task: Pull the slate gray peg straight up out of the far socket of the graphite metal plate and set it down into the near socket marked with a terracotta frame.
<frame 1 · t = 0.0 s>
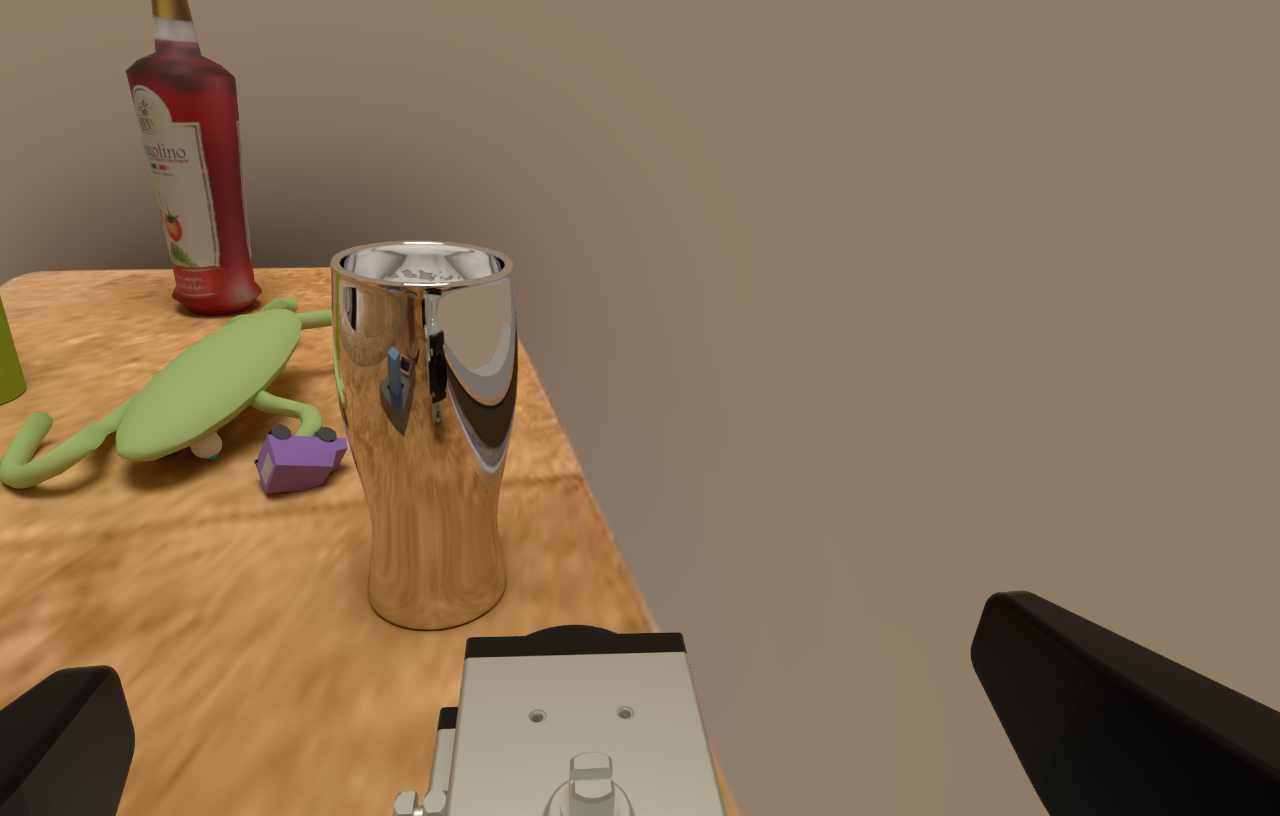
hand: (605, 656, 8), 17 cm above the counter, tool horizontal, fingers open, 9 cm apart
beer glass: (438, 588, 34), on the counter
figurine: (281, 413, 50), on the counter
liquor: (220, 309, 66), on the counter
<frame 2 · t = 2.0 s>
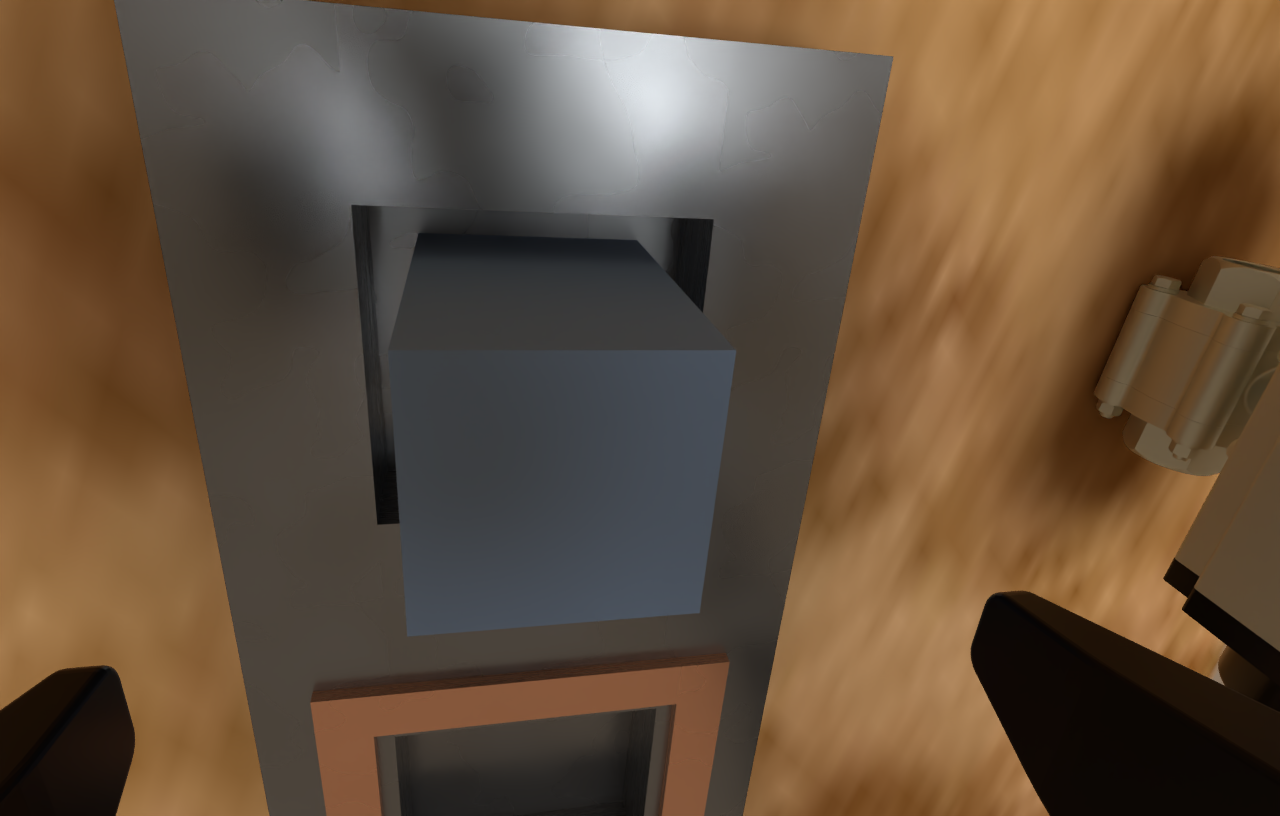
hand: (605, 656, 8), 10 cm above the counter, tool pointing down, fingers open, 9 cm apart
pneumatic valve: (1140, 340, 21), on the counter
slate gray peg: (529, 338, 16), point 1 cm above the counter, touching socket plate
socket plate: (523, 547, 19), on the counter
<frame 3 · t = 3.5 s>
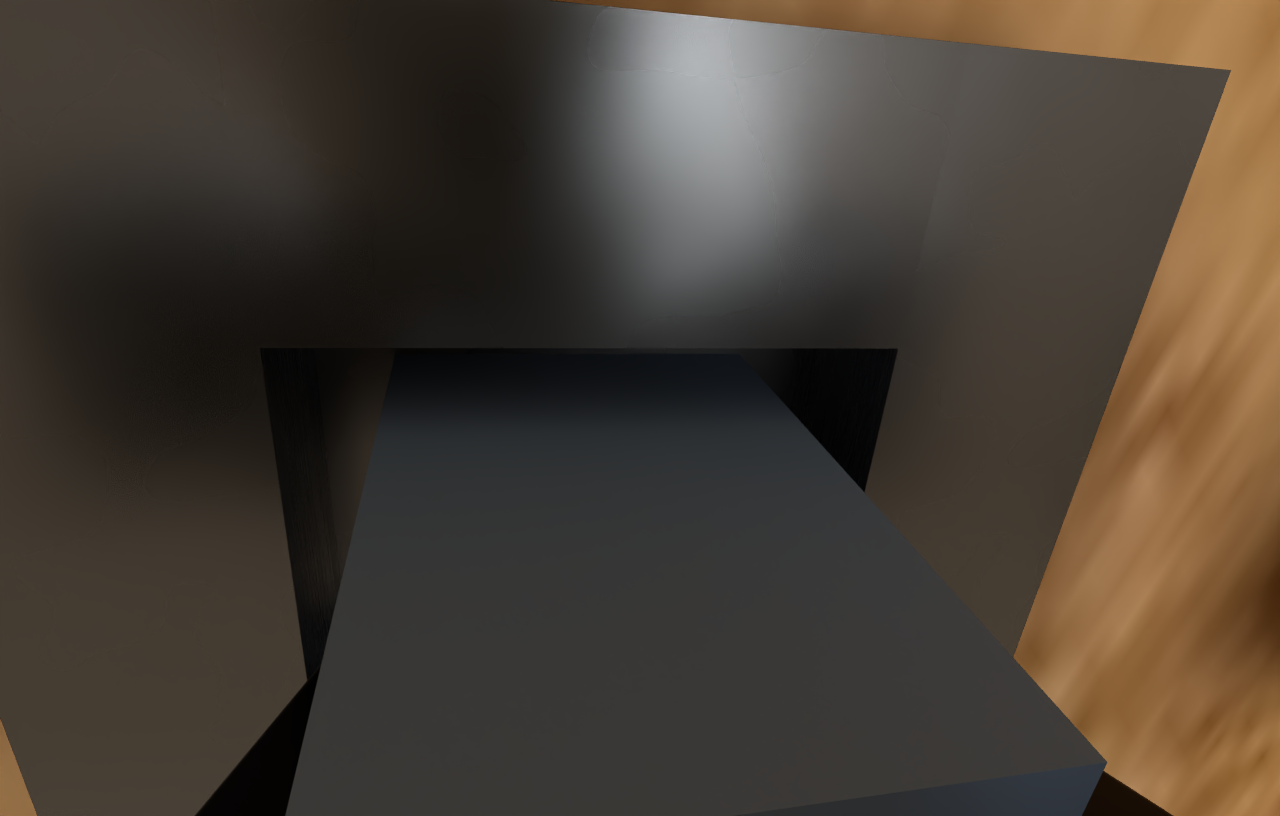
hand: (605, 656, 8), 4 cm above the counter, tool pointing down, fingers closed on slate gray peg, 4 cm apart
slate gray peg: (569, 501, 10), point 1 cm above the counter, touching gripper, socket plate
socket plate: (551, 758, 14), on the counter
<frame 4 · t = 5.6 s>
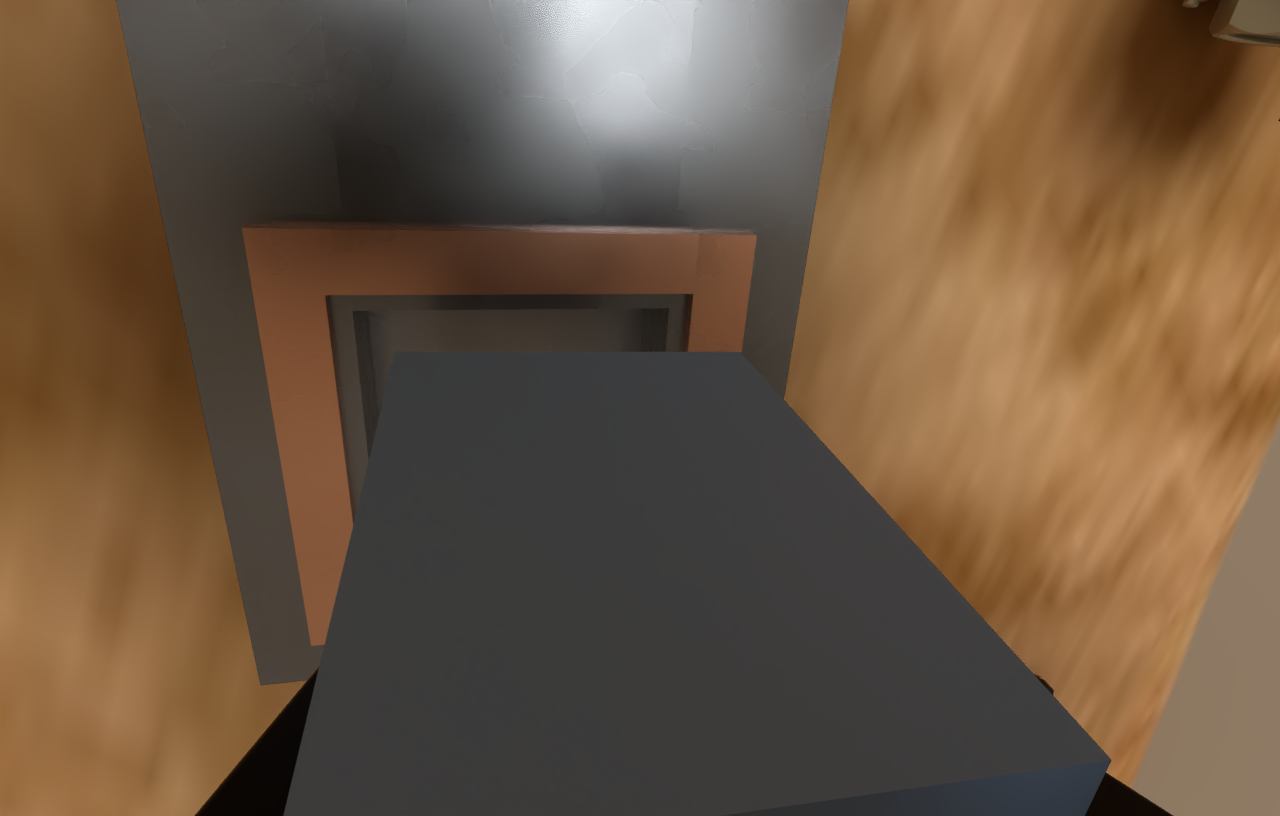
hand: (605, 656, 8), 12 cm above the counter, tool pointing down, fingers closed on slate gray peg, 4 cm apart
slate gray peg: (569, 499, 10), point 9 cm above the counter, touching gripper
socket plate: (507, 137, 16), on the counter
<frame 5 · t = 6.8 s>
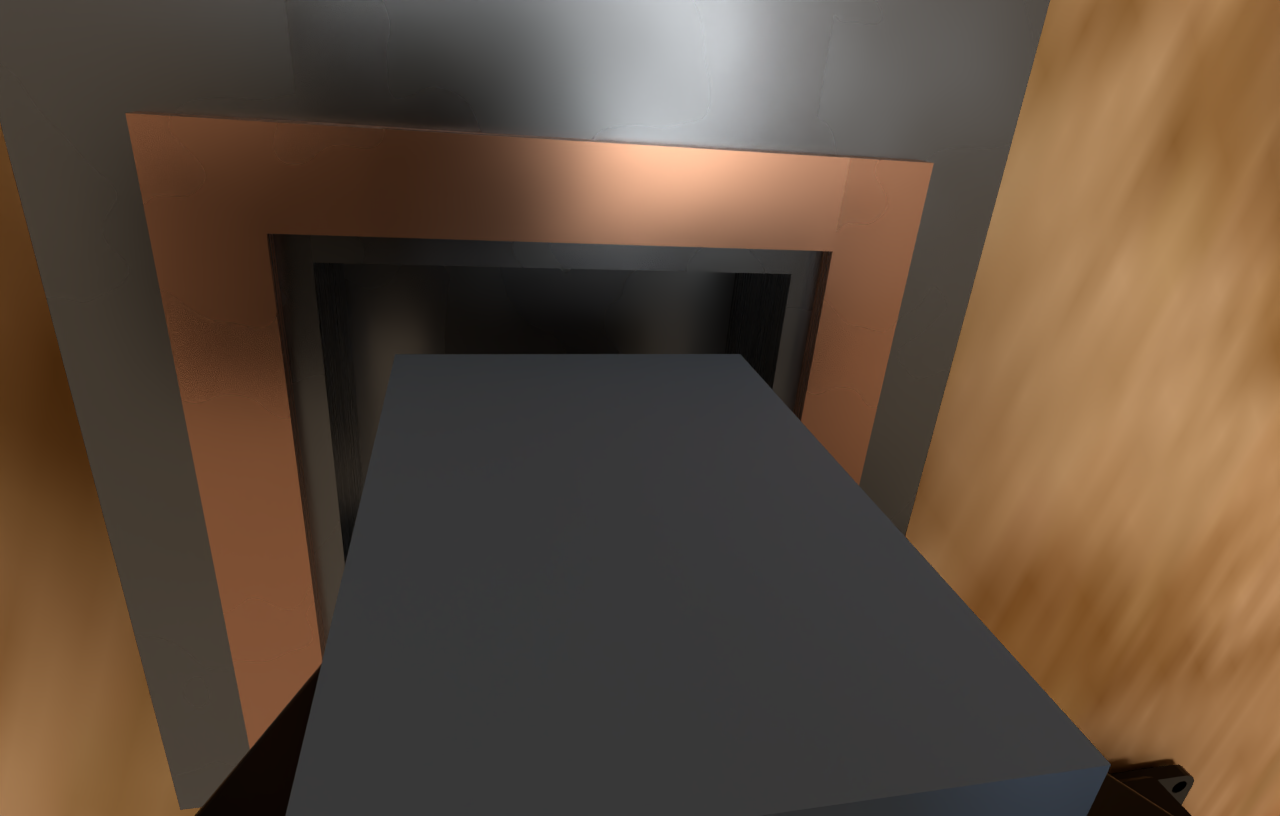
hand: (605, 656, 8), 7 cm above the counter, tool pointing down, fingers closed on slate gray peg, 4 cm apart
slate gray peg: (569, 501, 10), point 4 cm above the counter, touching gripper
socket plate: (551, 25, 11), on the counter
when the fingers open (5 cm above the counter, at t = 7.7 s): slate gray peg drops 1 cm, resting on socket plate.
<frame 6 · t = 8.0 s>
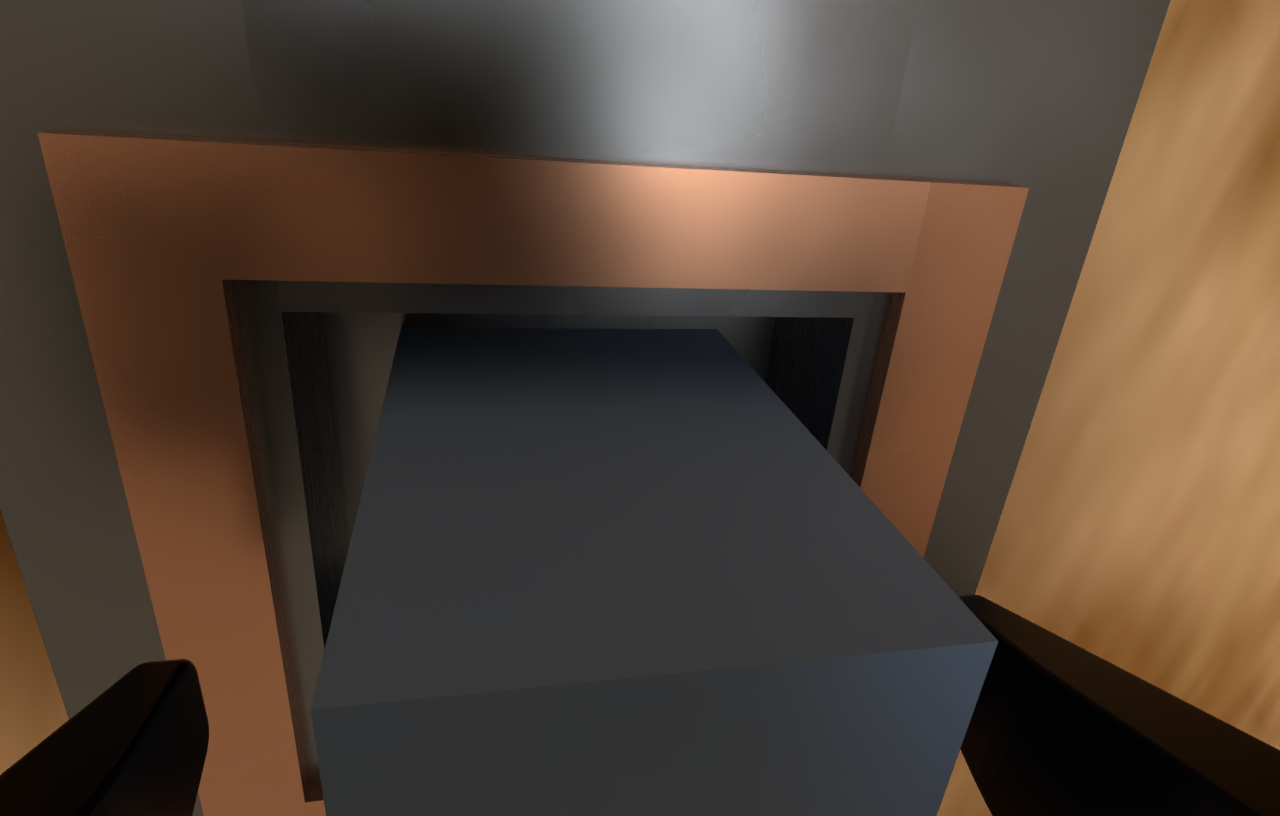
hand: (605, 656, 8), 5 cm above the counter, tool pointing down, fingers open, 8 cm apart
slate gray peg: (561, 466, 11), point 1 cm above the counter, touching socket plate
socket plate: (568, 22, 9), on the counter
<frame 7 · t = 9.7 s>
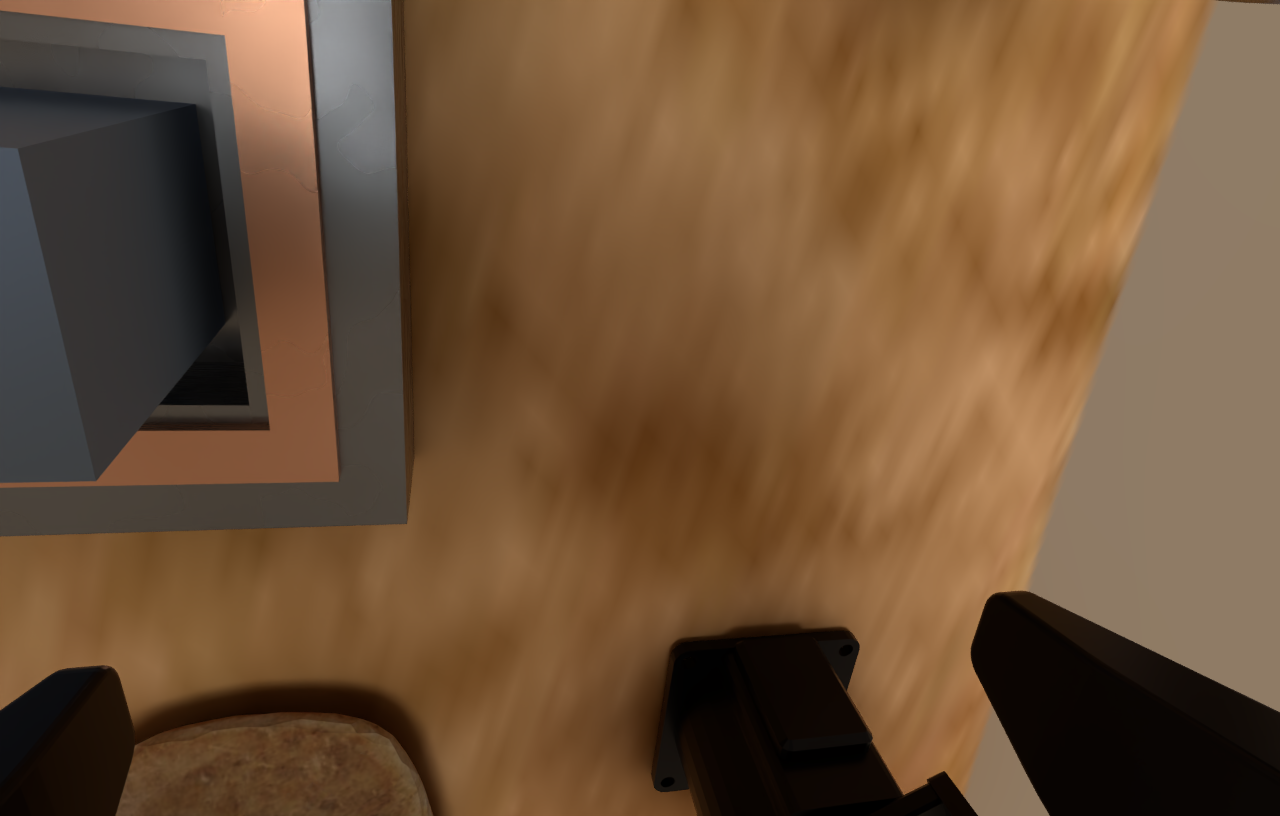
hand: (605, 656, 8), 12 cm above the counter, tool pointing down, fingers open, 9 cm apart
slate gray peg: (86, 213, 15), point 1 cm above the counter, touching socket plate
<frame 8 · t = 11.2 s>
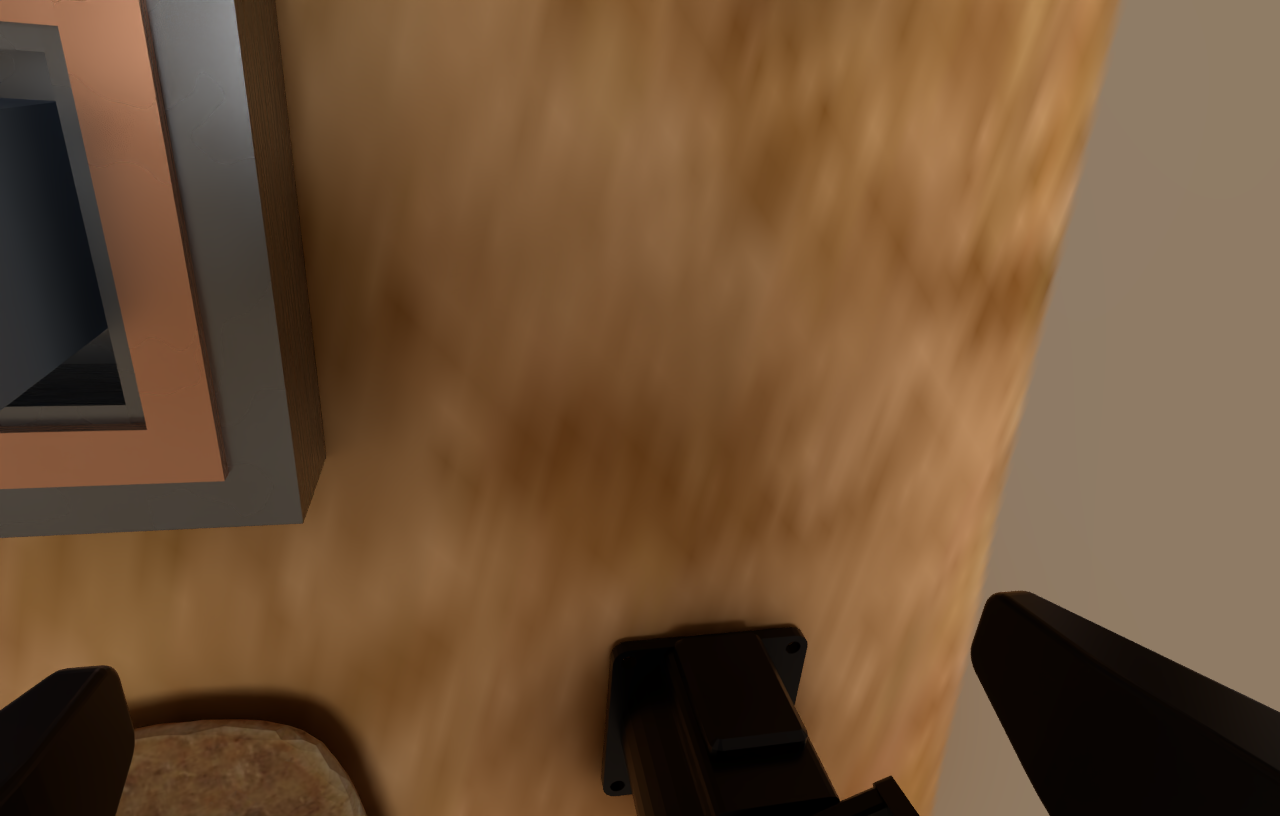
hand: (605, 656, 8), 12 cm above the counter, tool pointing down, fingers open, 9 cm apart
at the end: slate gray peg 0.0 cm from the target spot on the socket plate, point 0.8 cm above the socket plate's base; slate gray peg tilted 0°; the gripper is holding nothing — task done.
